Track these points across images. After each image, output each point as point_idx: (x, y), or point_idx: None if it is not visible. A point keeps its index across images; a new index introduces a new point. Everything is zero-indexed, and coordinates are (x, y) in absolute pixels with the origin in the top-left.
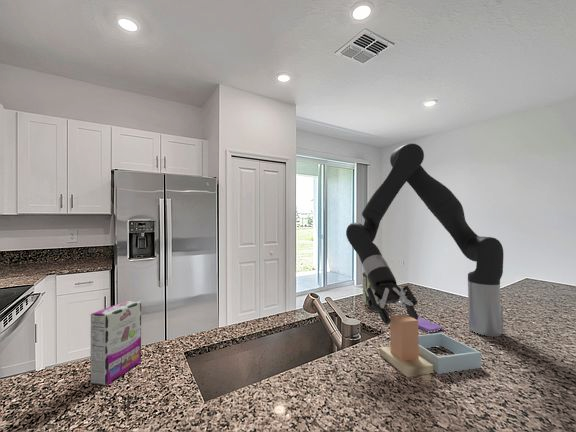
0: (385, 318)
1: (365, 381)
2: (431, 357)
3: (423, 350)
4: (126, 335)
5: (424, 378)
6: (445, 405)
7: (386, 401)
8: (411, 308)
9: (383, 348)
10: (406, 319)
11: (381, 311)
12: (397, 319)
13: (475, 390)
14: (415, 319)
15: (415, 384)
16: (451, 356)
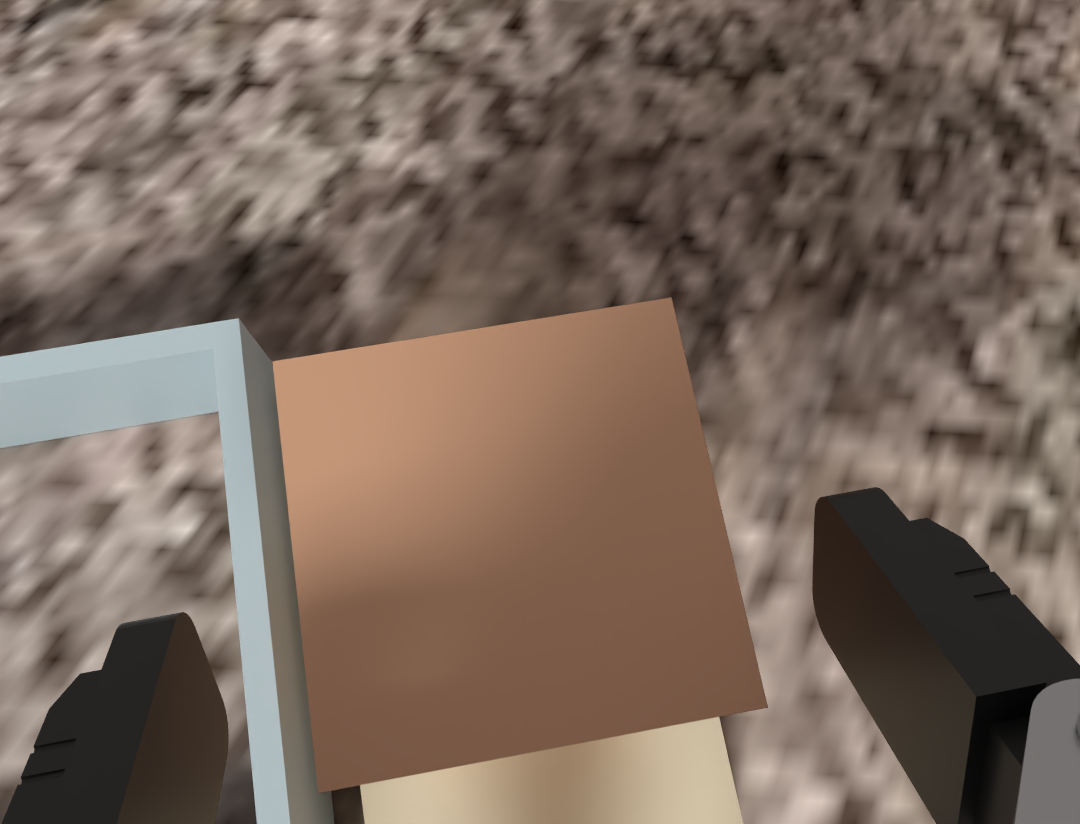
0: (932, 546)
1: (1027, 305)
2: (261, 436)
3: (268, 564)
4: None
5: (465, 321)
6: (513, 5)
7: (922, 63)
8: (100, 809)
9: (706, 816)
10: (497, 428)
11: (1066, 653)
12: (697, 440)
13: (145, 142)
14: (297, 417)
15: (598, 241)
16: (53, 348)
